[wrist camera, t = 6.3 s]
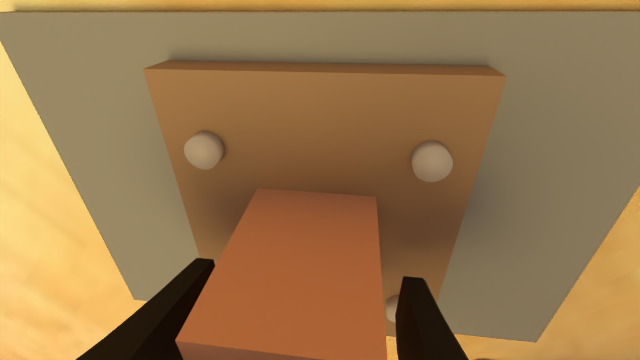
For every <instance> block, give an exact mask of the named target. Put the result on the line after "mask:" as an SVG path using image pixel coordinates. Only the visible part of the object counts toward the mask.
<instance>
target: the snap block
mask: <svg viewBox="0 0 640 360" xmlns="http://www.w3.org/2000/svg"><path fill="white" fill-rule="evenodd" d="M175 341H176V344H177V346H178V348H179V350H180V353H181V355H182V357H183V360H387V349H386V334H385V319H384V305H383V290H382V275H381V260H380V245H379V231H378V216H377V201H376V197H372V196H359V195H345V194H331V193H318V192H304V191H291V190H277V189H263V188H257V190H256V192H255V194H254V195H253V197H252V199H251V201H250V203H249V205H248V207H247V208H246V210H245V212H244V214H243V216H242V218H241V220H240V221H239V223H238V225H237V227H236V229H235V231H234V233H233V234H232V236H231V238H230V240H229V242H228V244H227V246H226V247H225V249H224V251H223V253H222V255H221V257H220V258H219V260H218V262H217V264H216V266H215V268H214V270H213V271H212V273H211V275H210V277H209V279H208V281H207V283H206V284H205V286H204V288H203V290H202V292H201V294H200V296H199V297H198V299H197V301H196V303H195V305H194V307H193V309H192V310H191V312H190V314H189V316H188V318H187V320H186V321H185V323H184V325H183V327H182V329H181V331H180V333H179V334H178V336H177V338H176V340H175Z"/></svg>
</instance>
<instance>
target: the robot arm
mask: <svg viewBox="0 0 640 360" xmlns="http://www.w3.org/2000/svg"><path fill="white" fill-rule="evenodd" d="M214 268H215V263H214V259H206V258H196V259H195V260H194V261H192V262H191V263H190V264H189V265H188V266H187V267H186V268H184V269H183V270H182V271H181V272H180V273H179V274H178V275H177V276H176V277H175V278H173V279H172V280H171V281H170V282H169V283H168V284H167V285H166V286H165V287H164V288H162V289H161V290H160V291H159V292H158V293H157V294H156V295H155V296H153V297H152V298H151V299H150V300H149V301H148V302H147V303H145V304H144V305H143V306H142V307H141V308H140V309H139V310H138V311H136V312H135V313H134V314H133V315H132V316H130V317H129V318H128V319H127V320H126V321H124V322H123V323H122V324H121V325H119V326H118V327H117V328H116V329H115V330H113V331H112V332H111V333H110V334H108V335H107V336H106V337H105V338H104V339H102V340H101V341H100V342H98V343H97V344H96V345H95V346H93V347H92V348H91V349H89V350H88V351H87V352H85V353H84V354H83V355H81V356H80V357H79V358H77V359H76V360H183V357H182V355H181V353H180V350H179V348H178V346H177V344H176V341H175V340H176V338H177V336H178V334H179V333H180V331H181V329H182V327H183V325H184V323H185V321H186V320H187V318H188V316H189V314H190V312H191V310H192V309H193V307H194V305H195V303H196V301H197V299H198V297H199V296H200V294H201V292H202V290H203V288H204V286H205V284H206V283H207V281H208V279H209V277H210V275H211V273H212V271H213V270H214ZM395 324H396V342H397V353H398V359H399V360H469V359H468V358H467V356H466V354H465V353H464V351H463V349H462V348H461V346H460V344H459V343H458V341H457V339H456V338H455V336H454V334H453V333H452V331H451V329H450V327H449V326H448V324H447V322H446V320H445V318H444V316H443V315H442V313H441V311H440V309H439V307H438V305H437V303H436V301H435V299H434V297H433V295H432V293H431V291H430V289H429V287H428V285H427V283H426V281H425V280H424V279H423V278H419V277H408V276H403V279H402V284H401V289H400V294H399V299H398V304H397V309H396V313H395Z"/></svg>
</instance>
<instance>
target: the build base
mask: <svg viewBox="0 0 640 360" xmlns="http://www.w3.org/2000/svg"><path fill="white" fill-rule="evenodd" d="M0 41H1V43H2V45H3V47H4V49H5V51H6V53H7V55H8V57H9V59H10V60H11V62H12V64H13V66H14V68H15V70H16V72H17V74H18V76H19V78H20V80H21V82H22V84H23V86H24V87H25V89H26V91H27V93H28V95H29V97H30V99H31V101H32V103H33V105H34V107H35V109H36V111H37V113H38V115H39V116H40V118H41V120H42V122H43V124H44V126H45V128H46V130H47V132H48V134H49V136H50V138H51V140H52V142H53V143H54V145H55V147H56V149H57V151H58V153H59V155H60V157H61V159H62V161H63V163H64V165H65V167H66V169H67V171H68V172H69V174H70V176H71V178H72V180H73V182H74V184H75V186H76V188H77V190H78V192H79V194H80V196H81V198H82V200H83V201H84V203H85V205H86V207H87V209H88V211H89V213H90V215H91V217H92V219H93V221H94V223H95V225H96V227H97V228H98V230H99V232H100V234H101V236H102V238H103V240H104V242H105V244H106V246H107V248H108V250H109V252H110V254H111V256H112V257H113V259H114V261H115V263H116V265H117V267H118V269H119V271H120V273H121V275H122V277H123V279H124V281H125V283H126V284H127V286H128V288H129V290H130V292H131V294H132V296H133V298H134V300H143V301H149V300H150V299H151V298H152V297H153V296H155V295H156V294H157V293H158V292H159V291H160V290H161V289H162V288H164V287H165V286H166V285H167V284H168V283H169V282H170V281H171V280H172V279H173V278H175V277H176V276H177V275H178V274H179V273H180V272H181V271H182V270H183V269H184V268H186V267H187V266H188V265H189V264H190V263H191V262H192V261H194V260H195V259H196V258H206V259H214V263H215V266H216V264H217V262H218V260H219V258H220V257H221V255H222V253H223V251H224V249H225V247H226V246H227V244H228V242H229V240H230V238H231V236H232V234H233V233H234V231H235V229H236V227H237V225H238V223H239V221H240V220H241V218H242V216H243V214H244V212H245V210H246V208H247V207H248V205H249V203H250V201H251V199H252V197H253V195H254V194H255V192H256V190H257V188H263V189H277V190H291V191H304V192H318V193H331V194H345V195H359V196H372V197H376V201H377V216H378V231H379V245H380V260H381V275H382V290H383V305H384V319H385V334H386V336H393V337H396V324H395V313H396V309H397V304H398V299H399V294H400V289H401V284H402V279H403V276H408V277H419V278H423V279H424V280H425V281H426V283H427V285H428V287H429V289H430V291H431V293H432V295H433V297H434V299H435V301H436V303H437V305H438V307H439V309H440V311H441V313H442V315H443V316H444V318H445V320H446V322H447V324H448V326H449V327H450V329H451V331H452V333H453V334H462V335H471V336H481V337H490V338H500V339H509V340H518V341H528V342H537V340H538V339H539V337H540V336H541V334H542V333H543V331H544V330H545V328H546V327H547V325H548V324H549V322H550V321H551V319H552V318H553V316H554V315H555V313H556V312H557V310H558V309H559V307H560V306H561V304H562V302H563V301H564V299H565V298H566V296H567V295H568V293H569V292H570V290H571V289H572V287H573V286H574V284H575V283H576V281H577V280H578V278H579V277H580V275H581V274H582V272H583V271H584V269H585V268H586V266H587V264H588V263H589V261H590V260H591V258H592V257H593V255H594V254H595V252H596V251H597V249H598V248H599V246H600V245H601V243H602V242H603V240H604V239H605V237H606V236H607V234H608V233H609V231H610V230H611V228H612V227H613V225H614V223H615V222H616V220H617V219H618V217H619V216H620V214H621V213H622V211H623V210H624V208H625V207H626V205H627V204H628V202H629V201H630V199H631V198H632V196H633V195H634V193H635V192H636V190H637V189H638V187H639V186H640V10H615V11H11V12H0Z"/></svg>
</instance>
